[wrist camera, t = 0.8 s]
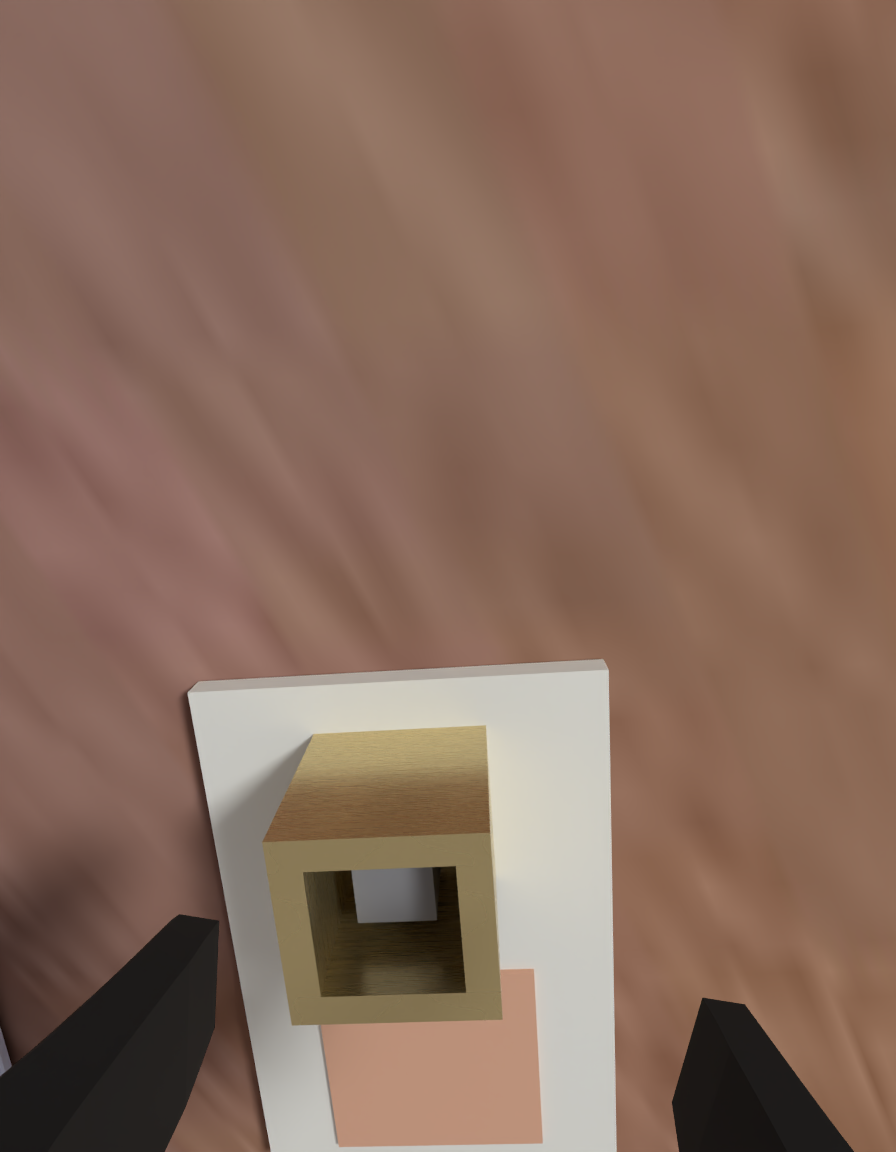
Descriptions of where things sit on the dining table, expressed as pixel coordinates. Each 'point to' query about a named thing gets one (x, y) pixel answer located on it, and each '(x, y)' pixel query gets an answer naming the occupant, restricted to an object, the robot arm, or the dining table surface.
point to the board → (525, 862)
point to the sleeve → (387, 841)
